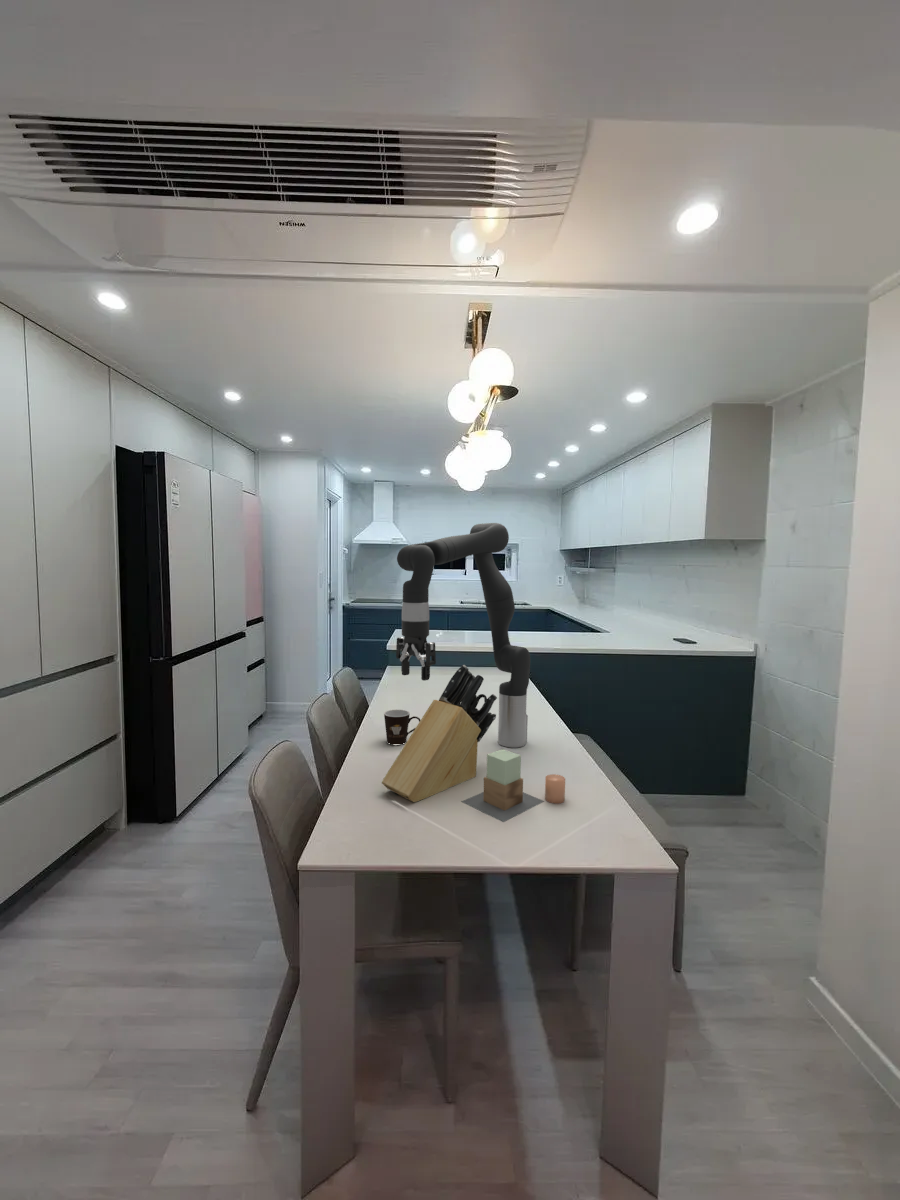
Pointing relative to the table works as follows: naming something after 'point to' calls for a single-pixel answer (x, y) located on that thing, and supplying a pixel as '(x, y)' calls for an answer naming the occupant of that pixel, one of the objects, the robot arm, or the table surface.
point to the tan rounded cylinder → (555, 788)
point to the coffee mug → (397, 725)
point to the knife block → (443, 741)
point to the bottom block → (503, 793)
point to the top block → (503, 766)
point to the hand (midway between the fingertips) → (415, 677)
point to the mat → (499, 813)
